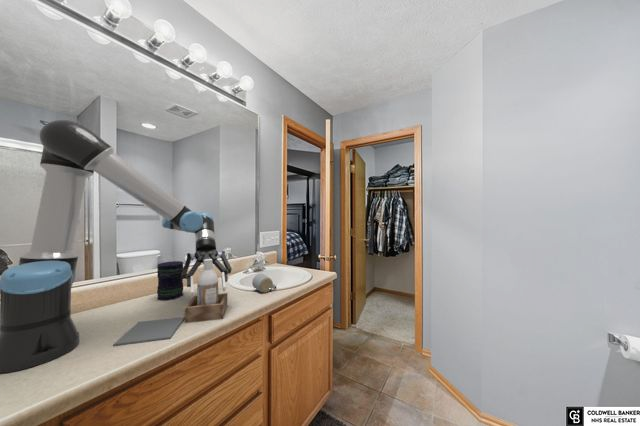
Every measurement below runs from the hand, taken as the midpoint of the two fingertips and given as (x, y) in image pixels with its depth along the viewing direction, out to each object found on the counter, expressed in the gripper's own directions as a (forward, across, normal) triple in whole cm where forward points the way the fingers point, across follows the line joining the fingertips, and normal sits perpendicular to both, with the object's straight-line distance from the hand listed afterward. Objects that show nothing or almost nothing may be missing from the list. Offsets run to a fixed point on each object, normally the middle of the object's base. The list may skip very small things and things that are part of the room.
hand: (208, 291), depth 82 cm
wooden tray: (+4, 0, -8) cm, 9 cm away
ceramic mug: (-6, -26, -20) cm, 33 cm away
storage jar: (-16, +13, -29) cm, 35 cm away
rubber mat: (+8, +16, -5) cm, 18 cm away
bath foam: (+4, 0, -9) cm, 10 cm away
